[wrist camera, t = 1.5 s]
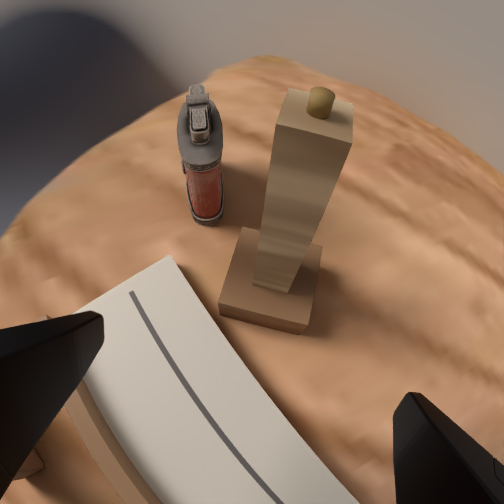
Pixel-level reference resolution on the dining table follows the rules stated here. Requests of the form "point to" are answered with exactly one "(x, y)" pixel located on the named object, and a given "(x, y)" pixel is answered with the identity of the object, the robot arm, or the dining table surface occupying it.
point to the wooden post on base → (290, 215)
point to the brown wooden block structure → (29, 466)
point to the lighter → (202, 155)
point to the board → (186, 407)
